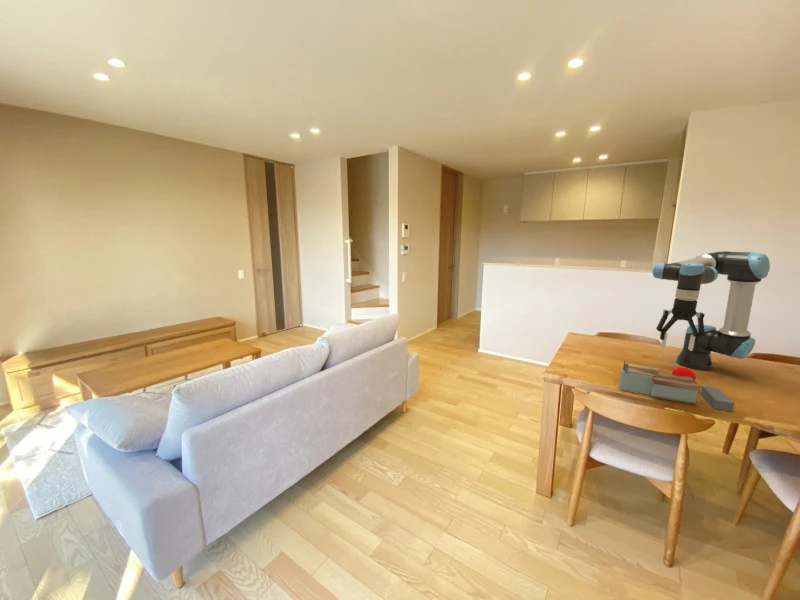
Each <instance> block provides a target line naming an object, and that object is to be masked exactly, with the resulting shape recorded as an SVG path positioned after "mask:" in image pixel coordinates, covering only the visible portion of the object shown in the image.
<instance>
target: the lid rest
mask: <svg viewBox="0 0 800 600" xmlns="http://www.w3.org/2000/svg"><path fill="white" fill-rule="evenodd" d="M700 390H701V391H700V395H701V396H702V397H703V398H704V399H705V401H706V402H707V403H708V404H709V405H710V406H711V408H712V409H714V410H718V411H725V412H731V413H733V411H734V406H735V402H734V401H732V400H731V398H729V397H728V396H727V395H726V394H725V393H724V391H722V390H721V389H720V388H717V387H711V386H704V385H703V386H702V387H701V389H700Z"/></svg>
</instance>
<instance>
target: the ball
mask: <svg viewBox="0 0 800 600" xmlns="http://www.w3.org/2000/svg"><path fill="white" fill-rule="evenodd" d="M671 374H672V375H679V376H685V377H691V378H692V379H693V380H694V381H695V382H696V378H697V376H696V374H695V373H694V372H693V371H692V370H691V369H690V368H688V367H679V366H678V367H676V368H675V369H673V370H672V373H671Z"/></svg>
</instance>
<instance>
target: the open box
mask: <svg viewBox="0 0 800 600" xmlns="http://www.w3.org/2000/svg"><path fill="white" fill-rule="evenodd" d="M698 394H699V391H696V390H690V389H683V388H677V387H670V386H664V385H658V384H654V383H653V381H652V386H651V391H650V395H649V396H650V398H654V399H661V400H668V401H673V402H679V403H685V404H689V405H696V402H697V398H698Z"/></svg>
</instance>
